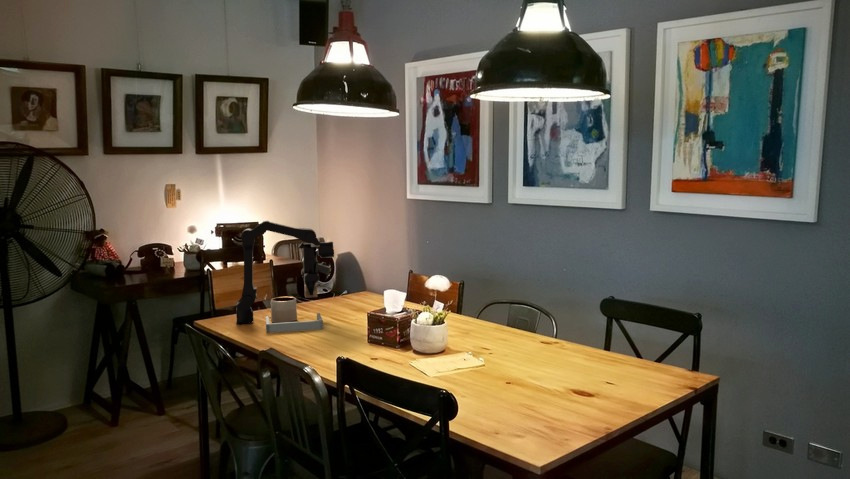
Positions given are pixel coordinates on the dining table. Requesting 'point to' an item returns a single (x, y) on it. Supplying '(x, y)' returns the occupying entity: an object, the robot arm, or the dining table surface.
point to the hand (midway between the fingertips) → (310, 293)
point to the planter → (283, 309)
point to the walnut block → (308, 292)
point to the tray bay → (294, 325)
